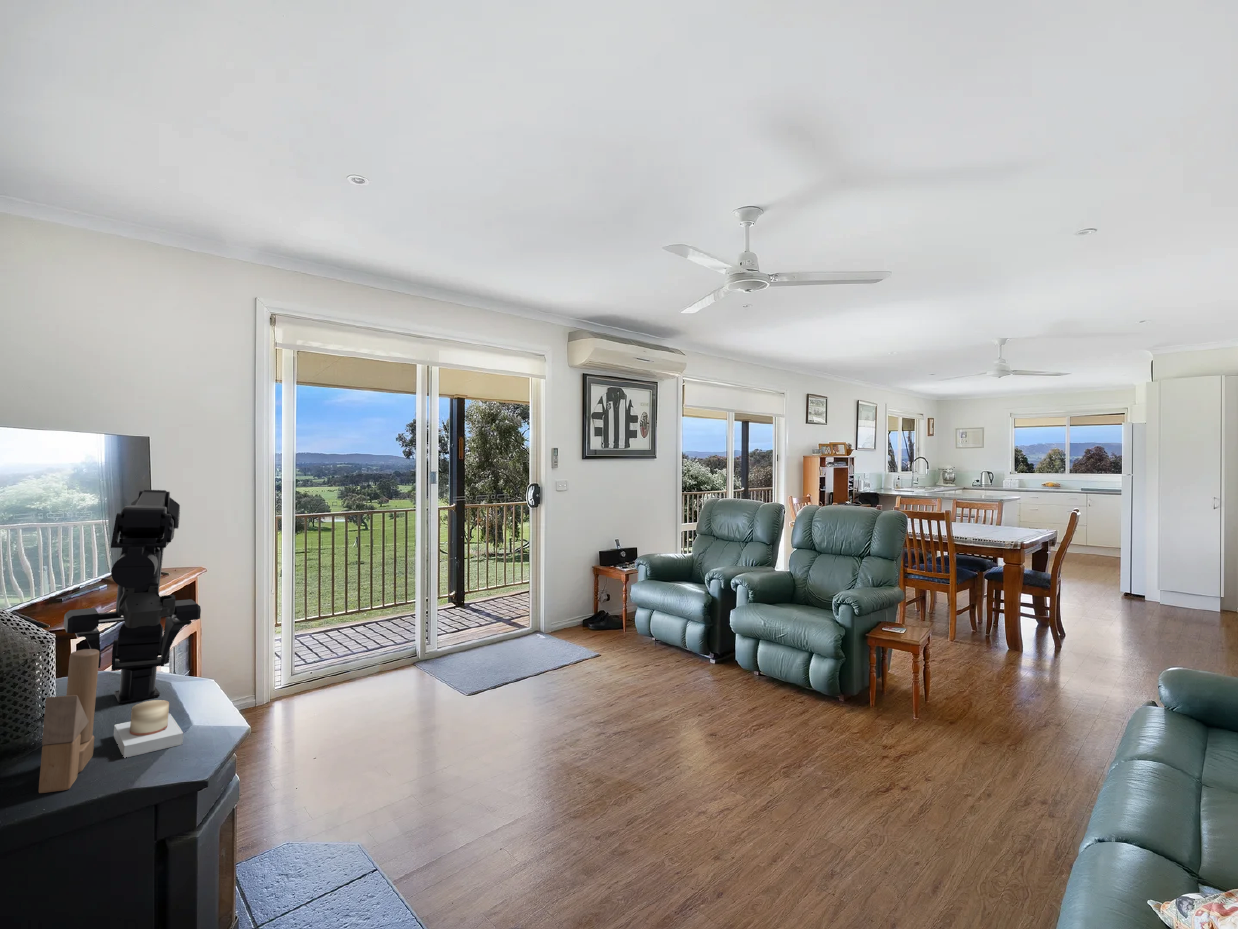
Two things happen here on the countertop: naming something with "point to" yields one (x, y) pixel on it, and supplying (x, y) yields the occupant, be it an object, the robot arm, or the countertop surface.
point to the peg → (149, 717)
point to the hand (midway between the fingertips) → (131, 662)
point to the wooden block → (70, 725)
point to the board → (147, 739)
